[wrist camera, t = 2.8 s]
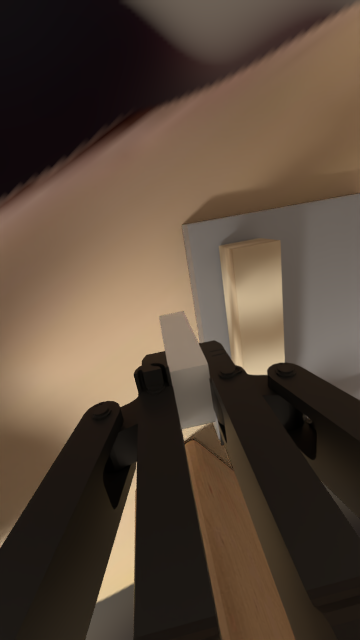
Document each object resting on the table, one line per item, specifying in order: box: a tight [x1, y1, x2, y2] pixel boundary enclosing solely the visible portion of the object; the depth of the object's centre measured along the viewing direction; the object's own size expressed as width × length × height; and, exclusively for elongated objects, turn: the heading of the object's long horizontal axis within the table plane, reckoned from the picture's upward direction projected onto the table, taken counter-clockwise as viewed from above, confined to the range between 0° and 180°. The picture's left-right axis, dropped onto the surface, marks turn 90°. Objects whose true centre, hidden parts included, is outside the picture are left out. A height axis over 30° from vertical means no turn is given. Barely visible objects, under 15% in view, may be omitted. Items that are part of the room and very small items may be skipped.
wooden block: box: [133, 440, 295, 640], centre depth 25 cm, size 10×10×20 cm
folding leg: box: [219, 238, 285, 375], centre depth 24 cm, size 17×4×4 cm, turn 9°
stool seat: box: [182, 193, 360, 440], centre depth 26 cm, size 17×22×6 cm
